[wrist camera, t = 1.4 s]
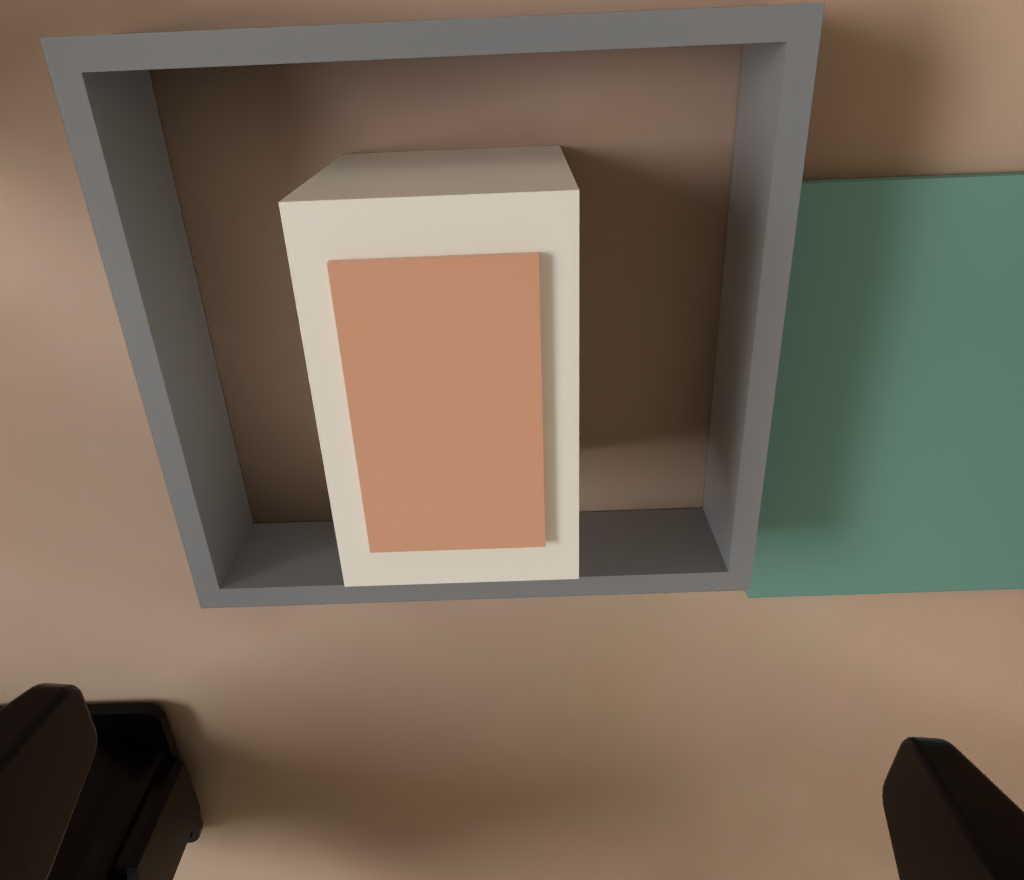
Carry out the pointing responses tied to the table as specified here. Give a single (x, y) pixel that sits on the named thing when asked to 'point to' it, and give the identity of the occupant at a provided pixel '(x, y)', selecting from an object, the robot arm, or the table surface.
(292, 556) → the bin
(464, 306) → the box
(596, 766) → the table surface
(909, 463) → the rubber mat
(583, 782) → the table surface
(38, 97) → the table surface
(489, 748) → the table surface
